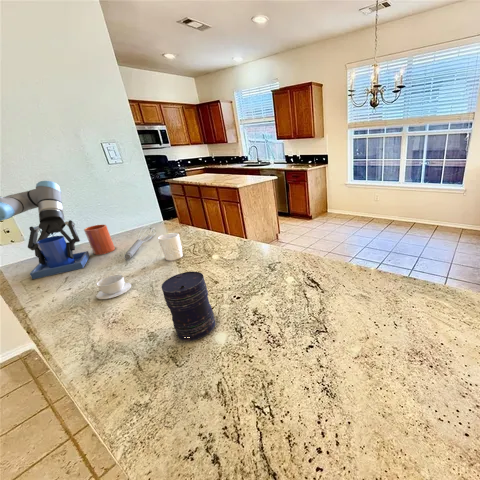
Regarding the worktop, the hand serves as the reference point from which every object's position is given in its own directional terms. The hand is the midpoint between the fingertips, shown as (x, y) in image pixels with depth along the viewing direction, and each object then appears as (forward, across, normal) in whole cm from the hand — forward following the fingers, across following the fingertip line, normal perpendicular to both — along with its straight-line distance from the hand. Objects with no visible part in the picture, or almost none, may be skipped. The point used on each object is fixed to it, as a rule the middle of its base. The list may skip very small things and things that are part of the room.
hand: (56, 260), depth 107 cm
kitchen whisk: (-3, -28, -10) cm, 30 cm away
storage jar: (+53, -44, +46) cm, 83 cm away
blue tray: (+1, 0, -6) cm, 6 cm away
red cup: (-6, -13, -12) cm, 19 cm away
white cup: (+14, -41, +8) cm, 44 cm away
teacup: (+27, -22, +20) cm, 40 cm away
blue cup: (0, 0, -5) cm, 5 cm away
